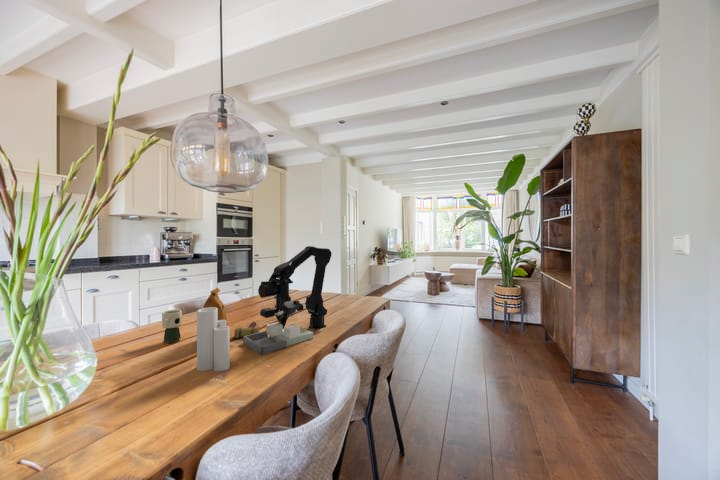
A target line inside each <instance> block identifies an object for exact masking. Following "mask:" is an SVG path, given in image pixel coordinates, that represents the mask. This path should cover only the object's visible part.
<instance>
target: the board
mask: <svg viewBox="0 0 720 480" xmlns="http://www.w3.org/2000/svg"><path fill="white" fill-rule="evenodd" d="M268 337H270V338H271V339H273V340H275V341H277V342H280V341H283V340H287V347H288V346H292V345H294V344H299V343H302V342H305V341H308V340H312V339H314V332H313V331H312V330H308V329H306V328H303V327H301V326H300V336H298V337H294V338H291V339H290V338H288V337H286V336H284V329H283V334H280V335H276V336H273V337H272V336H270V335H268Z"/></svg>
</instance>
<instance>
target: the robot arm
mask: <svg viewBox="0 0 720 480" xmlns="http://www.w3.org/2000/svg"><path fill="white" fill-rule="evenodd" d="M312 256H313V258H314V262H315V263H314V264H315V271H314V278H313V282H312V290H311V292H310V295H309V296H306V298H305V302H304V305H305V309H306V310H307V313H308V314H309V315H310V318H309V324H308V327H309V328H313V329H315V330H319V329H321V328H326V327H327V325H326V324H325V316H326V315H327V314H328V310H327V308H326V307H325V306H324V299H323V297H322V293H323V286H324V281H325V276H326V275H325V274H326V268H327V266H328V264H329V263H330V262H331V258H332V251H331V250H330V249H329V248H324V247H323V248H322V247H321V248H320V247H315V246H313V245H312V246H311V245H309V246H308V245H307V246H306V247H305V248H303V249H302V250H301V251H300V252H298V253H297V254H296V255H294V257H292V258H291V259H290V260H288V261H286V262H284V263H281V264H278V265H277V266H275V267H274V269H273V272H272V274H271V275H270V277H269V279H268V280H266V281H260V285H259V286H258V289H257V290H258V291H257V292H258V295H259V297H260V298H261V299H265V298H268V297H269V298H270V297H274V299H275V304H274V308H271V307H266V308H261V310H260V311H259V312H260V314H259V316H261V317H263V318H266V319H269V318H274V317H275V318H276V320H277V322H278V323H280V324H282V326H283V329H284V326H286V324H287V320H288V318H289V317H290V316H291V315H293V314H295V313H296V311H297V312H300V311H304V305H303V304H302V303H301V302H300V300H293V301H292V297H291V296H290V284H293V283H294V281H293V280H292V279H291V277H292V276H293V274H294V273H295V271H296V270H297V269H298V267H299V266H301V265H302V264H303V263H305V261H307V260H308V259H309V258H311V257H312Z"/></svg>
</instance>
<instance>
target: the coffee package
mask: <svg viewBox="0 0 720 480" xmlns="http://www.w3.org/2000/svg"><path fill="white" fill-rule="evenodd" d="M220 292H221V289H220V288H218V287H216V288H214V289H213V290H210V295H209V296H208V298H207V299H206V300H205V302H204V305H203V306H202V308H209V307H215V308H217V310H218V320H226V324H227V312H226V307H225V304H224V302H223V301H222V300H221V299H220V297H219V293H220Z"/></svg>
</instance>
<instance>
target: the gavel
mask: <svg viewBox="0 0 720 480" xmlns="http://www.w3.org/2000/svg"><path fill="white" fill-rule="evenodd" d="M260 329H261V328H260V327H259V326H257V322H255V321H252V322H251V323H250V324H249V325H248V326H247V327H243V328H241V327H235V329H234V338H235V339H240V338H243V336H247V335H251V334H255V333H259V332H261V331H260Z"/></svg>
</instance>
